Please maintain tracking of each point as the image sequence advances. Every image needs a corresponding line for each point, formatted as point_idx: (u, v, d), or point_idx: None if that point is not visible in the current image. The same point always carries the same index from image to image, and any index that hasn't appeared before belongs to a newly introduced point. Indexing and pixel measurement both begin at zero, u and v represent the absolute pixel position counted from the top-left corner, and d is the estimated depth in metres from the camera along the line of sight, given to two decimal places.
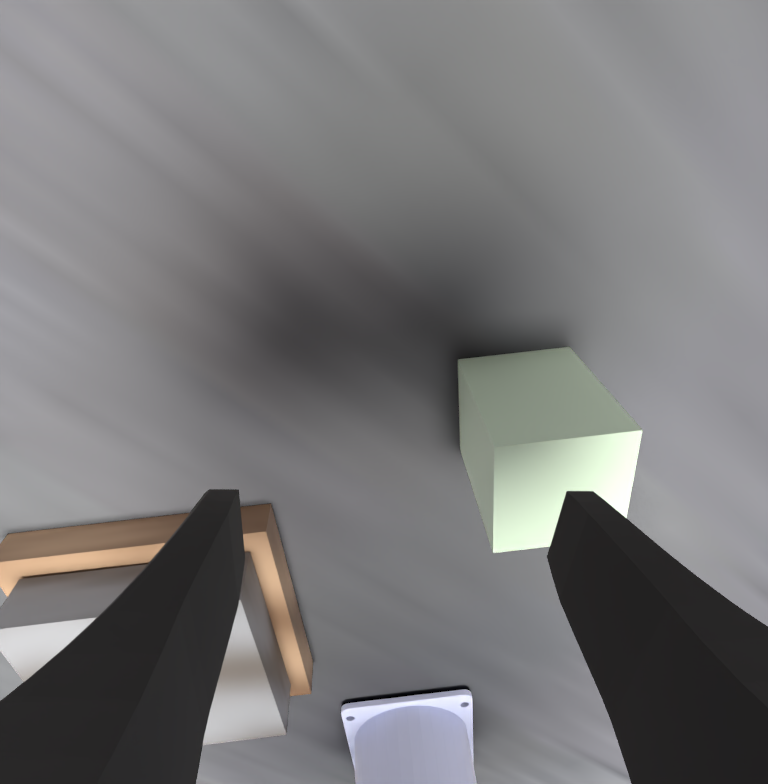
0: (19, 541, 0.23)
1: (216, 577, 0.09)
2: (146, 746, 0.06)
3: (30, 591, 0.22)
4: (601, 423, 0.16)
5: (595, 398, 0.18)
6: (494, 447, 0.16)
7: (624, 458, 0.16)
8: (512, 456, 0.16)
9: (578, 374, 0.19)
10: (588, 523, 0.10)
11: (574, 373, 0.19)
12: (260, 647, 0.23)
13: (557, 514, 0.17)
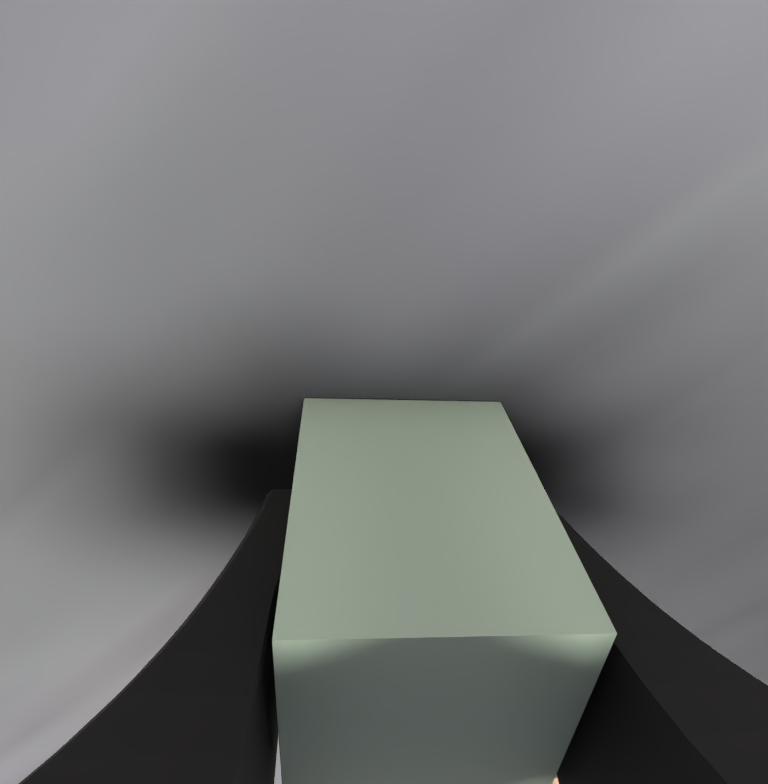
0: None
1: None
2: (254, 743, 0.06)
3: None
4: None
5: None
6: None
7: (352, 659, 0.07)
8: None
9: None
10: None
11: None
12: None
13: (481, 736, 0.08)
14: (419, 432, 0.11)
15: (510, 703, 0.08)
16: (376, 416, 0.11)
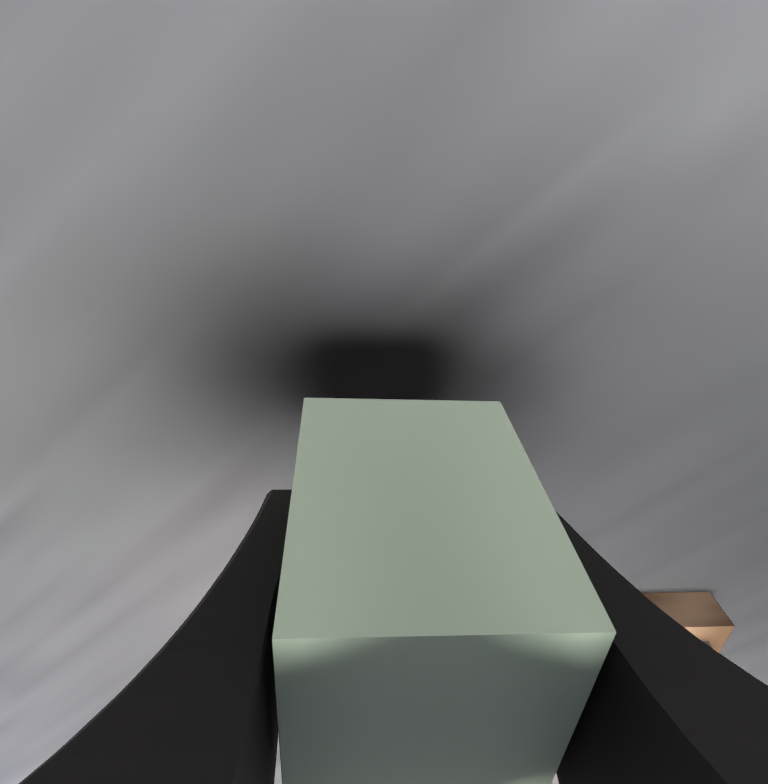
0: None
1: None
2: (254, 743, 0.06)
3: None
4: None
5: None
6: None
7: (351, 657, 0.07)
8: None
9: None
10: None
11: None
12: None
13: (481, 735, 0.08)
14: (419, 431, 0.11)
15: (509, 702, 0.08)
16: (376, 415, 0.11)
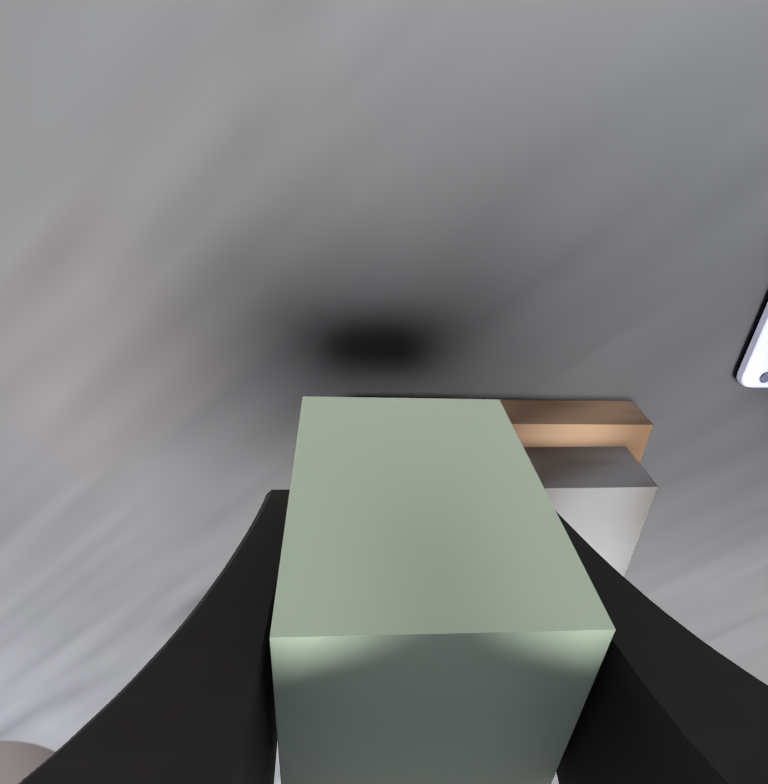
0: None
1: None
2: (253, 743, 0.06)
3: None
4: None
5: None
6: None
7: (350, 656, 0.07)
8: None
9: None
10: None
11: None
12: None
13: (480, 733, 0.08)
14: (417, 430, 0.11)
15: (509, 701, 0.08)
16: (375, 413, 0.11)
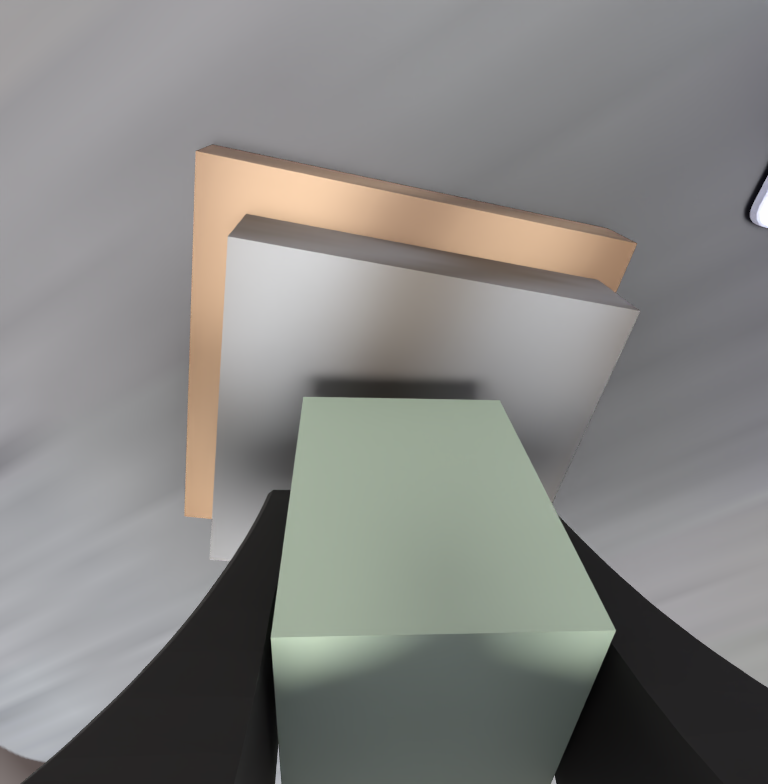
0: None
1: None
2: (256, 743, 0.06)
3: None
4: None
5: None
6: None
7: (351, 656, 0.07)
8: None
9: None
10: None
11: None
12: (387, 261, 0.12)
13: (480, 734, 0.08)
14: (418, 430, 0.11)
15: (508, 701, 0.08)
16: (376, 414, 0.11)
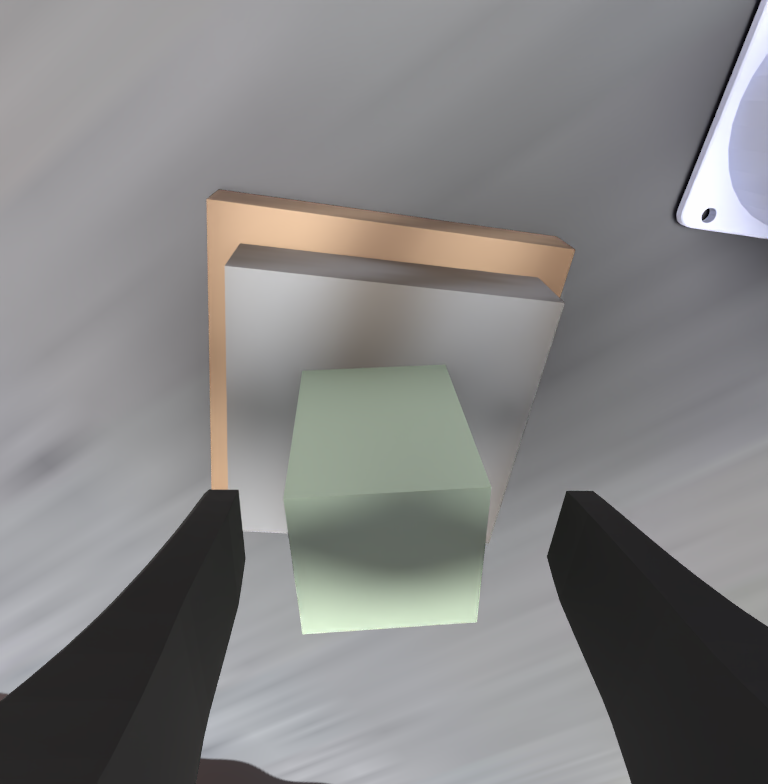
0: None
1: (216, 577, 0.09)
2: (146, 747, 0.06)
3: None
4: None
5: None
6: (304, 632, 0.13)
7: (331, 510, 0.11)
8: (318, 618, 0.13)
9: None
10: (588, 523, 0.10)
11: None
12: (353, 276, 0.15)
13: (422, 568, 0.13)
14: (383, 387, 0.15)
15: (435, 542, 0.12)
16: (353, 378, 0.16)
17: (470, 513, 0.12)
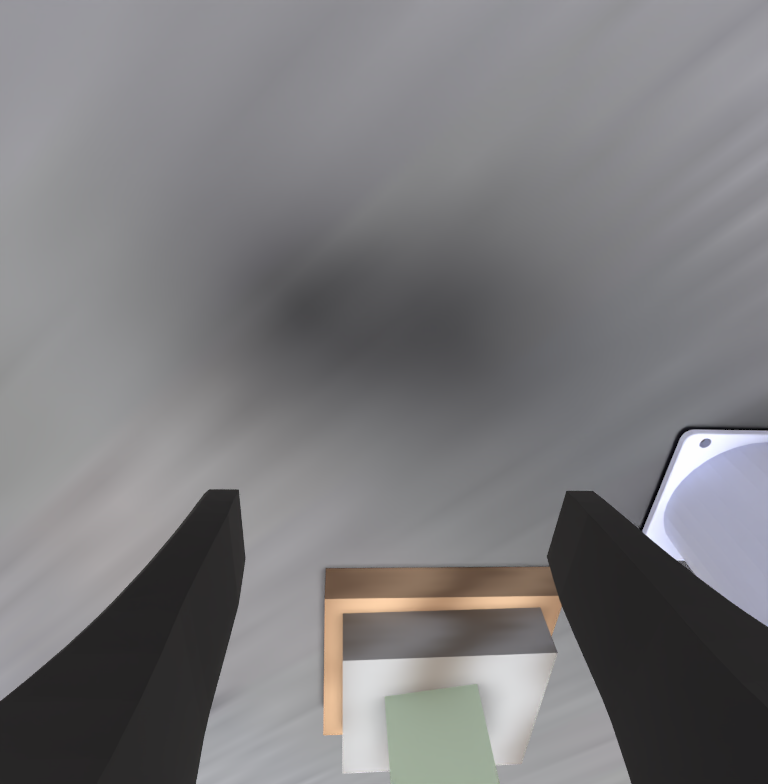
0: None
1: (216, 577, 0.09)
2: (146, 747, 0.06)
3: None
4: None
5: None
6: None
7: None
8: None
9: None
10: (588, 523, 0.10)
11: None
12: (420, 650, 0.24)
13: None
14: (439, 717, 0.24)
15: None
16: (419, 707, 0.25)
17: None
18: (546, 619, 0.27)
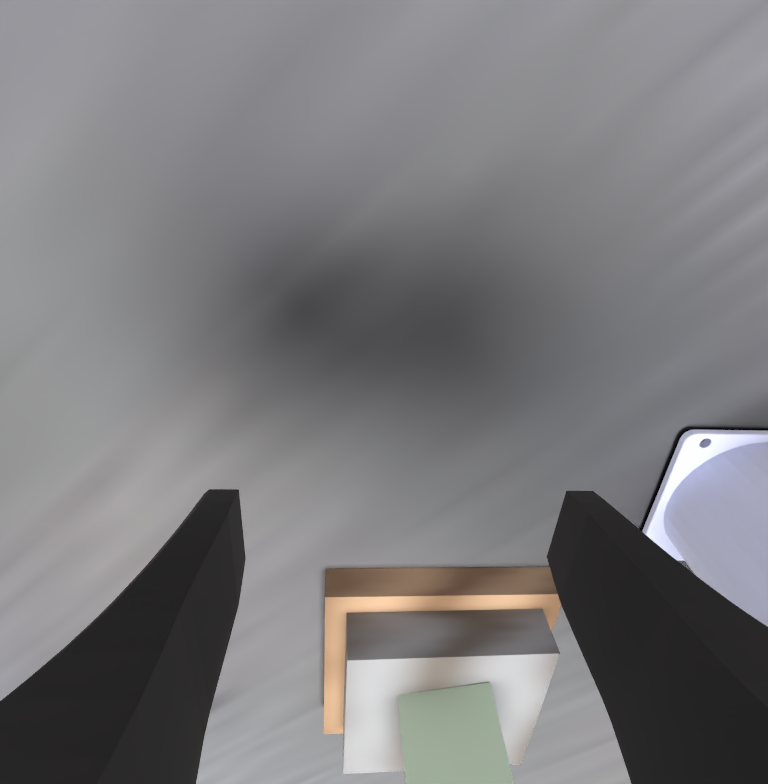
0: None
1: (216, 577, 0.09)
2: (146, 747, 0.06)
3: (343, 731, 0.30)
4: None
5: None
6: None
7: None
8: None
9: None
10: (588, 523, 0.10)
11: None
12: (424, 650, 0.24)
13: None
14: (452, 716, 0.24)
15: None
16: (432, 705, 0.25)
17: None
18: (546, 617, 0.27)
